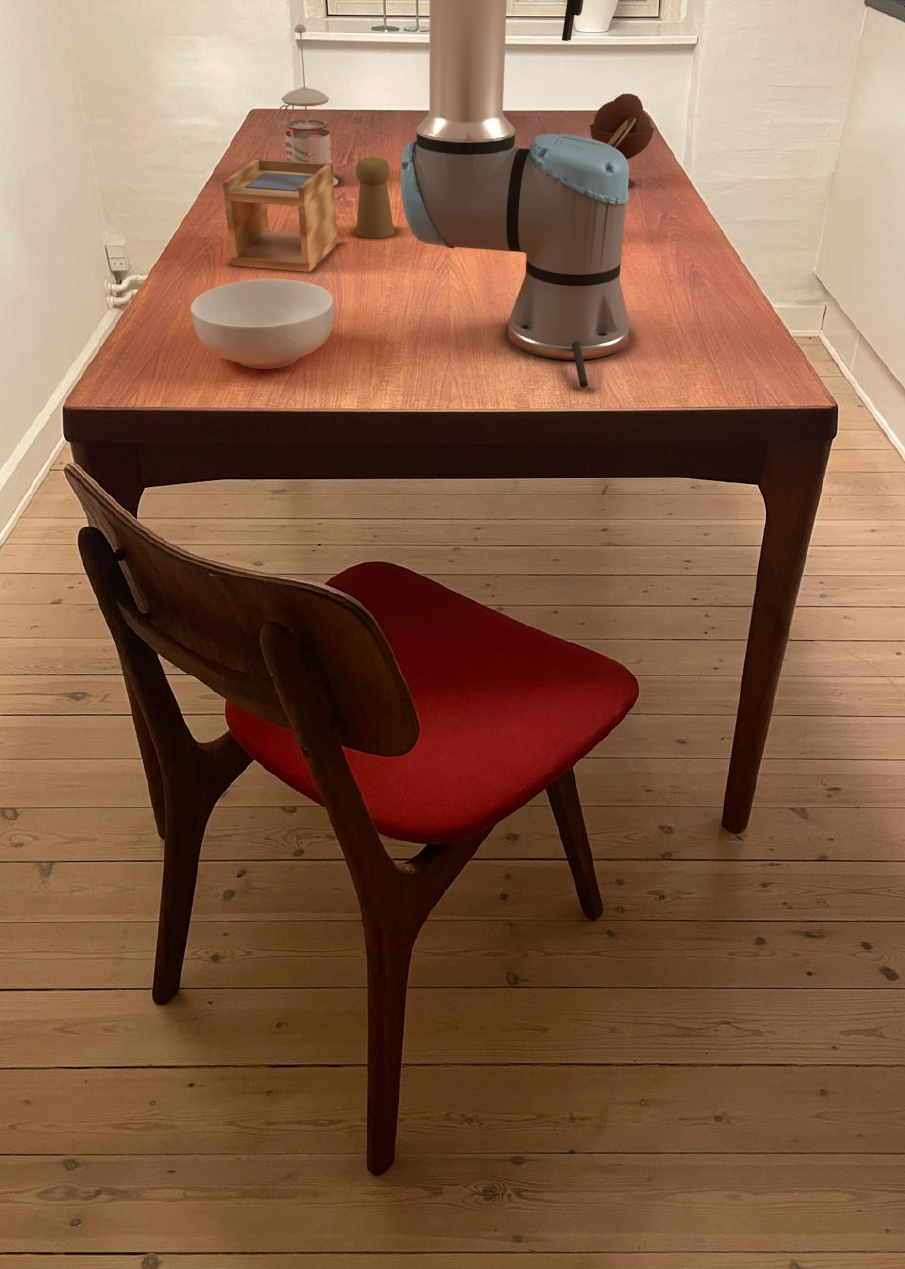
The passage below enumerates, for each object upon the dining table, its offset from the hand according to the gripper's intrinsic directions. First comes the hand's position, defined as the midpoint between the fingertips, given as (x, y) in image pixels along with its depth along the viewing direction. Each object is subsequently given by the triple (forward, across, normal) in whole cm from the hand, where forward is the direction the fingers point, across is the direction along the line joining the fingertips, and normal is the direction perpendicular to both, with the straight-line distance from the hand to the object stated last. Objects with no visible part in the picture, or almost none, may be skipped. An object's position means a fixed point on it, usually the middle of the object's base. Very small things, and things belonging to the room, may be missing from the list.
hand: (522, 33), depth 166 cm
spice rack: (+31, +25, +26) cm, 48 cm away
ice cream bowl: (+24, -13, -28) cm, 39 cm away
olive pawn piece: (+30, +17, +12) cm, 36 cm away
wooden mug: (+27, -14, +4) cm, 31 cm away
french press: (+29, +39, -11) cm, 50 cm away
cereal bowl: (+34, +10, +61) cm, 71 cm away
